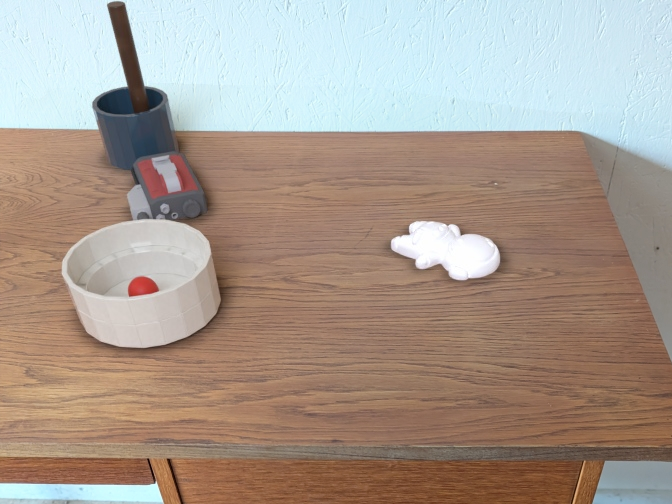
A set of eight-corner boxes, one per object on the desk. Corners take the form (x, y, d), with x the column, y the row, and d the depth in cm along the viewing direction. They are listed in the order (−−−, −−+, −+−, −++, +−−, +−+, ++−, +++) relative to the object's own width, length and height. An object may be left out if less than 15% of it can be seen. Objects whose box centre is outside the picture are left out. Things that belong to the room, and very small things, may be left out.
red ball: (140, 303, 75) (146, 274, 74) (162, 312, 74) (168, 283, 73) (118, 300, 73) (124, 270, 72) (140, 309, 71) (146, 279, 71)
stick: (143, 159, 94) (103, 6, 81) (148, 152, 96) (111, 0, 82) (157, 160, 94) (120, 7, 81) (163, 153, 95) (127, 1, 82)
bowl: (62, 350, 70) (39, 296, 66) (106, 268, 79) (89, 216, 75) (204, 355, 70) (191, 302, 65) (233, 273, 79) (223, 221, 74)
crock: (99, 172, 93) (81, 115, 88) (120, 140, 99) (105, 84, 93) (170, 175, 93) (156, 117, 87) (187, 142, 98) (175, 86, 93)
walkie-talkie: (118, 182, 91) (149, 264, 80) (108, 146, 88) (138, 227, 76) (187, 169, 94) (227, 247, 82) (179, 134, 90) (220, 210, 78)
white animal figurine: (425, 222, 85) (426, 197, 83) (513, 256, 81) (517, 231, 78) (379, 255, 81) (379, 230, 78) (470, 293, 76) (473, 267, 74)
